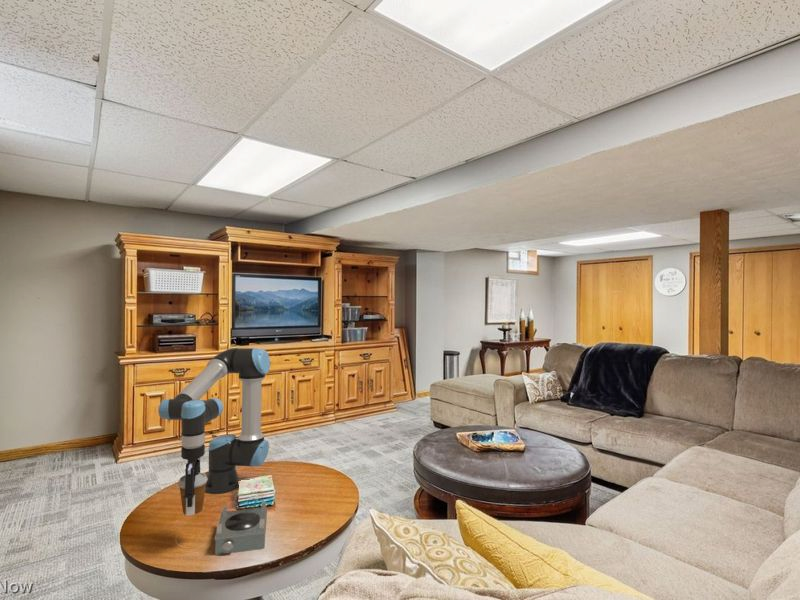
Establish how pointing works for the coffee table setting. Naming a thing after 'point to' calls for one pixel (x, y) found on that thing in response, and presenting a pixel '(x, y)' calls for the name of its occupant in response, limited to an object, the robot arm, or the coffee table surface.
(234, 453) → the robot arm
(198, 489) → the disposable coffee cup
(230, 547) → the hot plate
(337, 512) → the coffee table surface
